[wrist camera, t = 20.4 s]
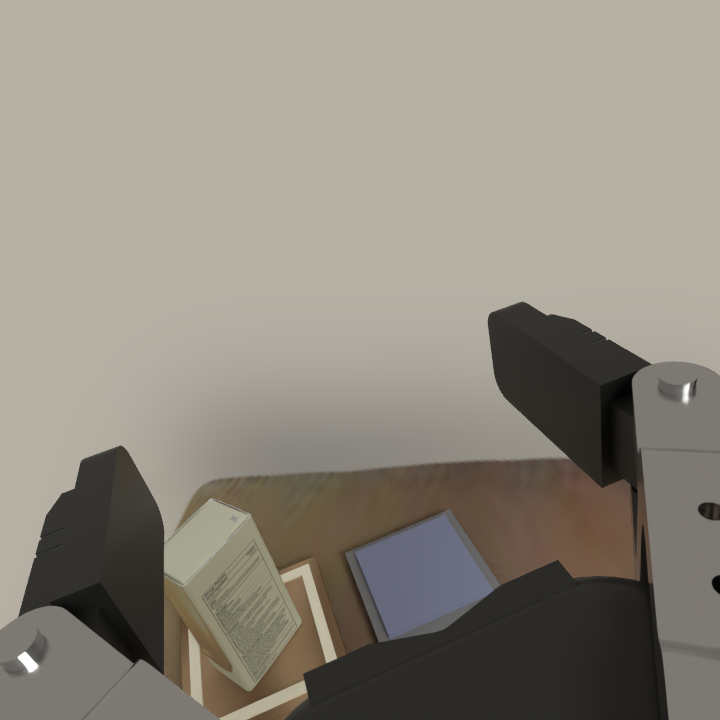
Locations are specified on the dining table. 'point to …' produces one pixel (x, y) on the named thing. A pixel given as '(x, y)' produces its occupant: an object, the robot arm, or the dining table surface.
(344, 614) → the dining table surface
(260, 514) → the dining table surface
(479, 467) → the dining table surface
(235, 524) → the skincare box
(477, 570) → the ink pad
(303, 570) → the marked board
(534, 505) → the dining table surface
